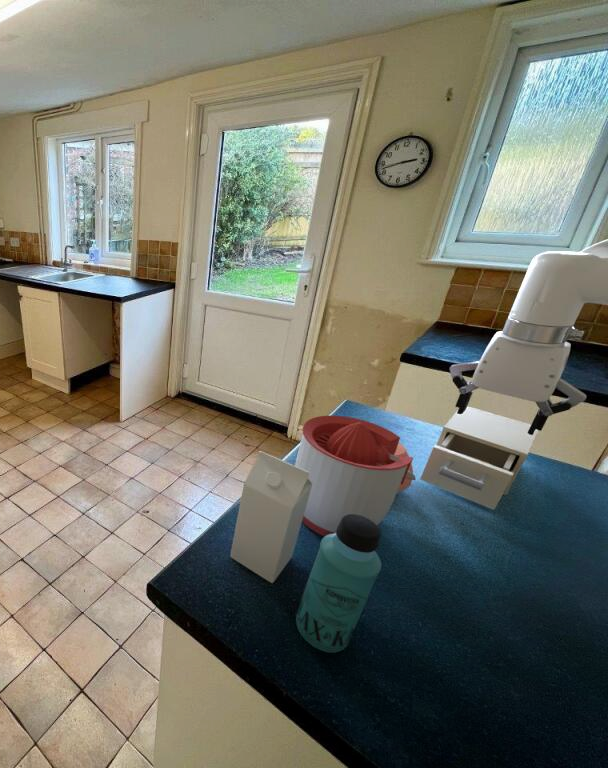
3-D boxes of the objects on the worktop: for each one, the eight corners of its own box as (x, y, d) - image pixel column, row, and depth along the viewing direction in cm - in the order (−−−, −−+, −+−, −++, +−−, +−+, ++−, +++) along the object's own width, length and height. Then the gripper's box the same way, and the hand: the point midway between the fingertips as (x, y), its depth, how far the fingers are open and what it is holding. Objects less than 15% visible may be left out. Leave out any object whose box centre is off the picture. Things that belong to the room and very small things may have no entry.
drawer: (487, 525, 72) (506, 489, 68) (410, 491, 80) (424, 458, 76) (508, 479, 83) (526, 447, 79) (439, 453, 91) (452, 423, 87)
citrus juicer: (406, 565, 65) (453, 461, 57) (287, 540, 70) (314, 441, 61) (377, 500, 79) (411, 408, 70) (279, 483, 83) (300, 394, 75)
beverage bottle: (286, 611, 58) (318, 501, 50) (336, 617, 57) (378, 506, 49) (300, 659, 52) (340, 543, 44) (356, 666, 52) (408, 550, 43)
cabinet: (505, 495, 80) (528, 454, 76) (427, 465, 88) (443, 426, 84) (519, 465, 88) (540, 427, 84) (446, 440, 97) (462, 404, 93)
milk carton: (250, 533, 71) (270, 441, 63) (292, 557, 67) (319, 461, 58) (229, 557, 67) (247, 461, 58) (272, 584, 62) (298, 484, 54)
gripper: (616, 338, 64) (565, 432, 71) (473, 316, 76) (442, 398, 83) (613, 350, 59) (559, 449, 67) (462, 324, 72) (430, 411, 79)
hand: (494, 421), depth 75 cm, fingers open, 9 cm apart
